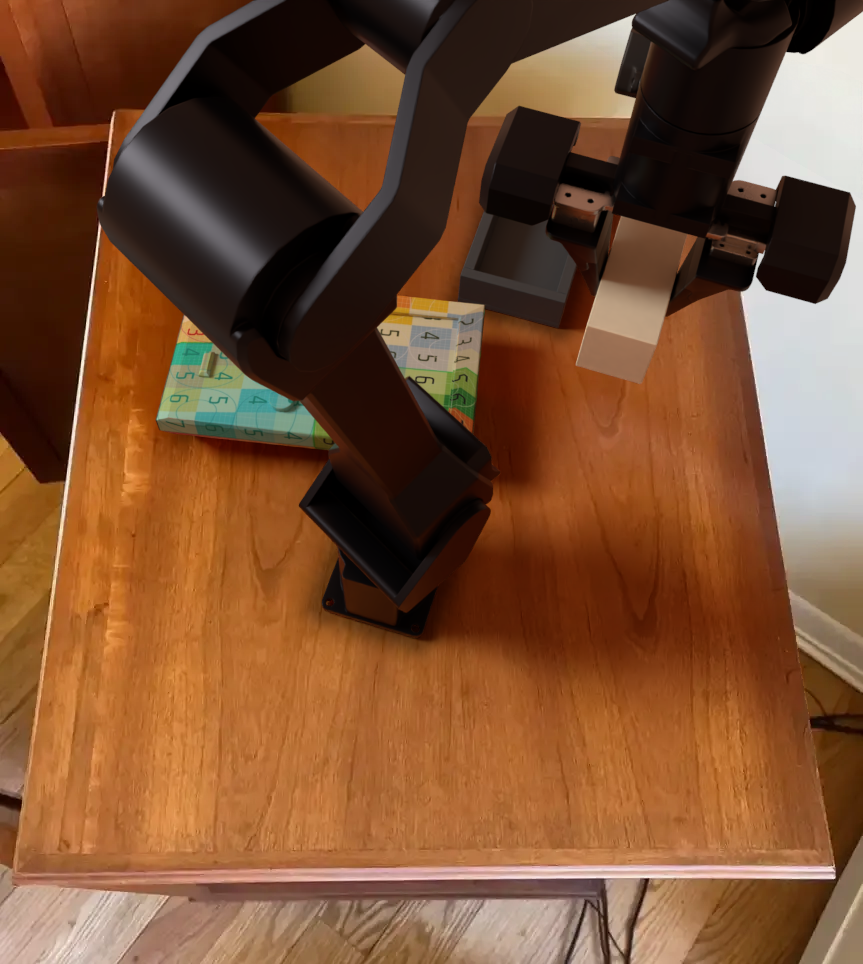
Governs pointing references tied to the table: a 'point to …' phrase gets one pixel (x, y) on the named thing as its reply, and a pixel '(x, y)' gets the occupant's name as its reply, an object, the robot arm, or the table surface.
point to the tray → (517, 271)
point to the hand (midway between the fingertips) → (631, 300)
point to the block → (631, 300)
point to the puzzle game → (278, 420)
